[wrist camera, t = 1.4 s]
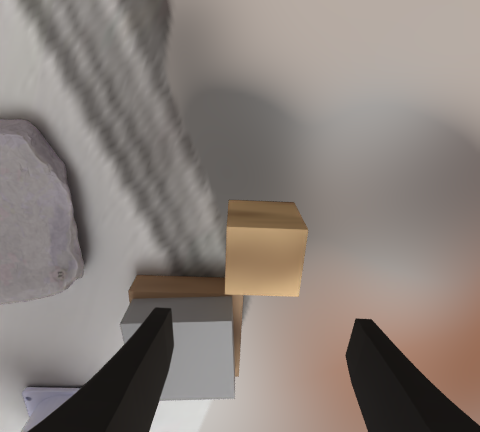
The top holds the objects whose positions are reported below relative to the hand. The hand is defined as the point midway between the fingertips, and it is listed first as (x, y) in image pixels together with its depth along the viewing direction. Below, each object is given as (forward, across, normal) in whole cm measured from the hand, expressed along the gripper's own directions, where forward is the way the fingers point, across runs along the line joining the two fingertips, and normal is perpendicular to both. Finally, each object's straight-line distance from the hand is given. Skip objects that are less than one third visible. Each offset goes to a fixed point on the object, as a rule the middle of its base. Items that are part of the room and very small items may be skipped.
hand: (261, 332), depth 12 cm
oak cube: (+10, 0, +1) cm, 10 cm away
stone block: (+10, +16, 0) cm, 19 cm away
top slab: (+8, +5, +9) cm, 12 cm away
